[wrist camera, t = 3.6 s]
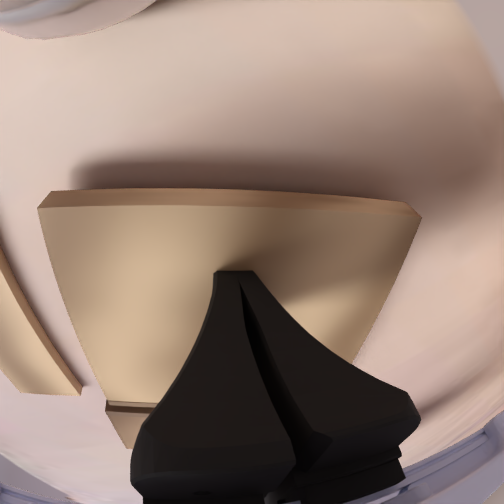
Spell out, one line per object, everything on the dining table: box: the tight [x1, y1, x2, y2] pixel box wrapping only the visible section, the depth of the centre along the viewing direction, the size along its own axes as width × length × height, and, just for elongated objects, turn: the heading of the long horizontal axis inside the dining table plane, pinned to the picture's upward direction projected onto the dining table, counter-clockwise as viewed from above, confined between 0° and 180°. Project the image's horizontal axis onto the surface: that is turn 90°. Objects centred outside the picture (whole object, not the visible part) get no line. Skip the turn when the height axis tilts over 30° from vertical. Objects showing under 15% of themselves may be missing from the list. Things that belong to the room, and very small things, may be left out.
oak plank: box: [37, 188, 422, 407], centre depth 13 cm, size 13×12×1 cm
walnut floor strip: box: [105, 400, 155, 449], centre depth 18 cm, size 14×6×1 cm, turn 84°
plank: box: [0, 246, 82, 396], centre depth 12 cm, size 5×12×1 cm, turn 3°
